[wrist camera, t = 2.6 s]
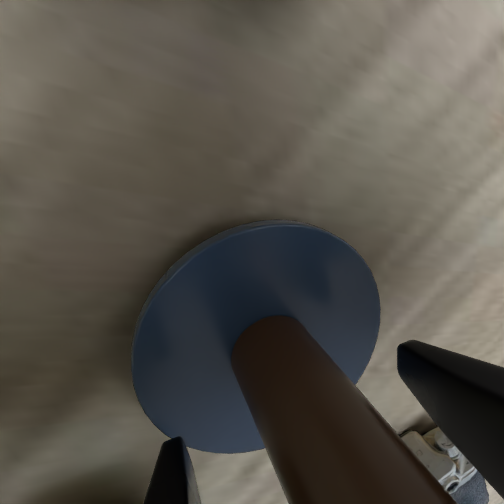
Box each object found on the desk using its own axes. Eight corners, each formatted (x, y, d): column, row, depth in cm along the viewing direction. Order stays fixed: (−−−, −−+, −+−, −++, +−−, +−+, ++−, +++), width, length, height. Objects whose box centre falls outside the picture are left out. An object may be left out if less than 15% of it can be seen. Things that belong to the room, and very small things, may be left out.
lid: (365, 377, 13) (612, 641, 6) (172, 460, 11) (232, 943, 5) (354, 185, 10) (797, 301, 3) (89, 258, 8) (-74, 788, 2)
